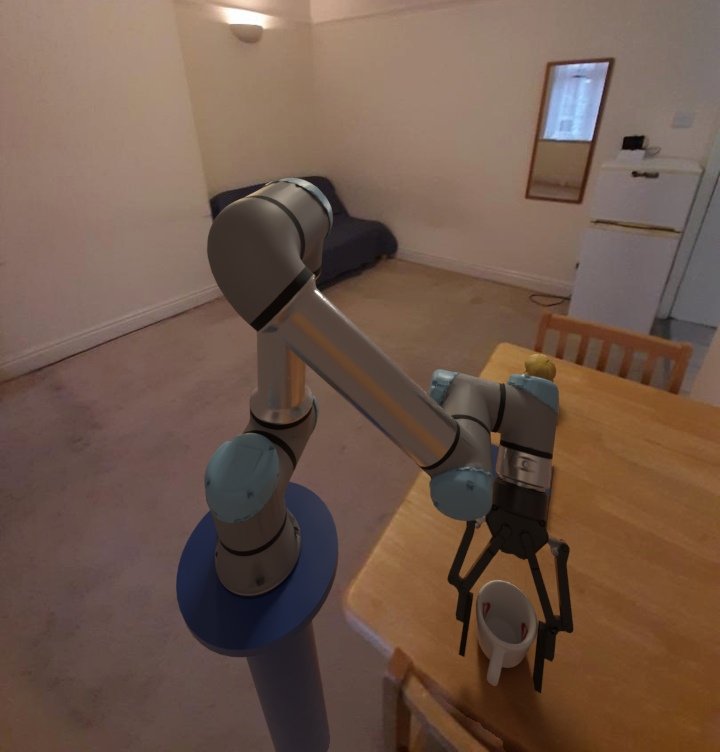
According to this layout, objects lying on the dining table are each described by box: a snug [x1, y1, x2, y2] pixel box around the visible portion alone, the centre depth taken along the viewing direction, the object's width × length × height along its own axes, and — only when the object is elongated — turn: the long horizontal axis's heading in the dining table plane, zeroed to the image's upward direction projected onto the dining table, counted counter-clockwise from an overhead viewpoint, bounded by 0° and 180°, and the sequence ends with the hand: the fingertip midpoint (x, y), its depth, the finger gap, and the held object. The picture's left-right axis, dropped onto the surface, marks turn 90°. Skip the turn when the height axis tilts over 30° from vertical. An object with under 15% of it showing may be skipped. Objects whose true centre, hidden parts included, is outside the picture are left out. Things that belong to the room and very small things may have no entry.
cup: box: [475, 579, 539, 687], centre depth 55 cm, size 11×8×8 cm
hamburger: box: [524, 353, 557, 383], centre depth 101 cm, size 8×7×12 cm
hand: (498, 667), depth 53 cm, fingers open, 9 cm apart
